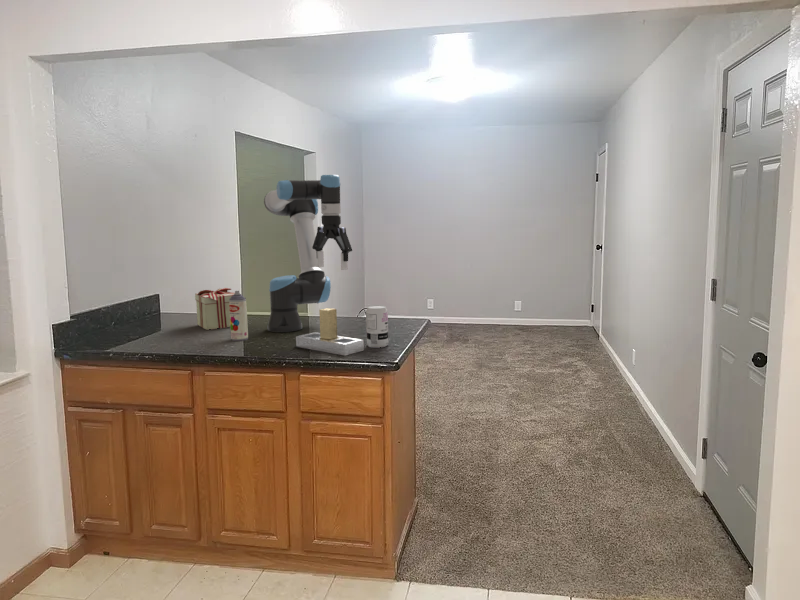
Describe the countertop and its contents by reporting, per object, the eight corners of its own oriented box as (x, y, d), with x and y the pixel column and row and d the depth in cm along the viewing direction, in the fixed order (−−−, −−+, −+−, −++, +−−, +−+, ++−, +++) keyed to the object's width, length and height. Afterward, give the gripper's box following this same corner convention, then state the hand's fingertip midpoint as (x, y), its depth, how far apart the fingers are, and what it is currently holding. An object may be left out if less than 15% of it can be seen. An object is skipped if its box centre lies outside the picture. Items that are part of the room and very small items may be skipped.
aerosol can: (227, 340, 257) (224, 291, 254) (239, 337, 263) (236, 289, 260) (240, 341, 254) (237, 292, 251) (251, 338, 259) (249, 290, 256)
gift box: (210, 331, 276) (207, 292, 273) (194, 326, 290) (191, 289, 287) (246, 326, 286) (244, 289, 284) (229, 321, 300) (227, 285, 298)
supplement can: (366, 343, 245) (365, 305, 243) (387, 343, 246) (386, 305, 244) (367, 348, 237) (366, 309, 235) (389, 347, 238) (388, 308, 235)
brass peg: (320, 348, 238) (319, 309, 236) (329, 346, 241) (327, 308, 239) (329, 350, 235) (327, 310, 233) (337, 348, 238) (336, 309, 236)
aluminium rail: (296, 346, 242) (295, 336, 242) (315, 341, 250) (315, 332, 250) (345, 355, 226) (344, 344, 226) (363, 350, 234) (363, 339, 233)
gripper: (302, 214, 253) (304, 266, 256) (346, 215, 237) (347, 271, 240) (316, 213, 258) (318, 265, 262) (360, 215, 242) (361, 269, 246)
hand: (332, 268), depth 251 cm, fingers open, 13 cm apart
